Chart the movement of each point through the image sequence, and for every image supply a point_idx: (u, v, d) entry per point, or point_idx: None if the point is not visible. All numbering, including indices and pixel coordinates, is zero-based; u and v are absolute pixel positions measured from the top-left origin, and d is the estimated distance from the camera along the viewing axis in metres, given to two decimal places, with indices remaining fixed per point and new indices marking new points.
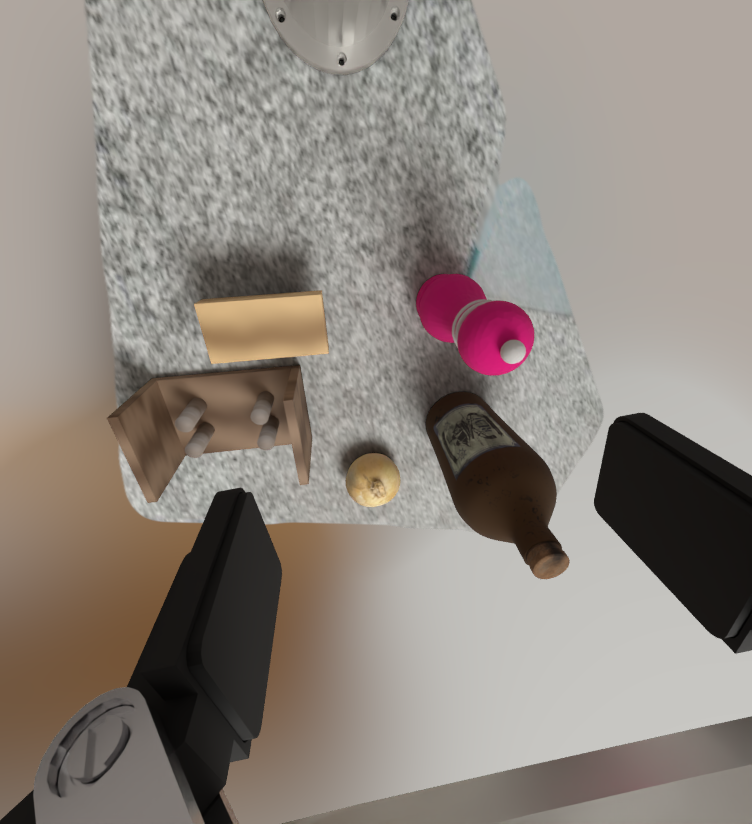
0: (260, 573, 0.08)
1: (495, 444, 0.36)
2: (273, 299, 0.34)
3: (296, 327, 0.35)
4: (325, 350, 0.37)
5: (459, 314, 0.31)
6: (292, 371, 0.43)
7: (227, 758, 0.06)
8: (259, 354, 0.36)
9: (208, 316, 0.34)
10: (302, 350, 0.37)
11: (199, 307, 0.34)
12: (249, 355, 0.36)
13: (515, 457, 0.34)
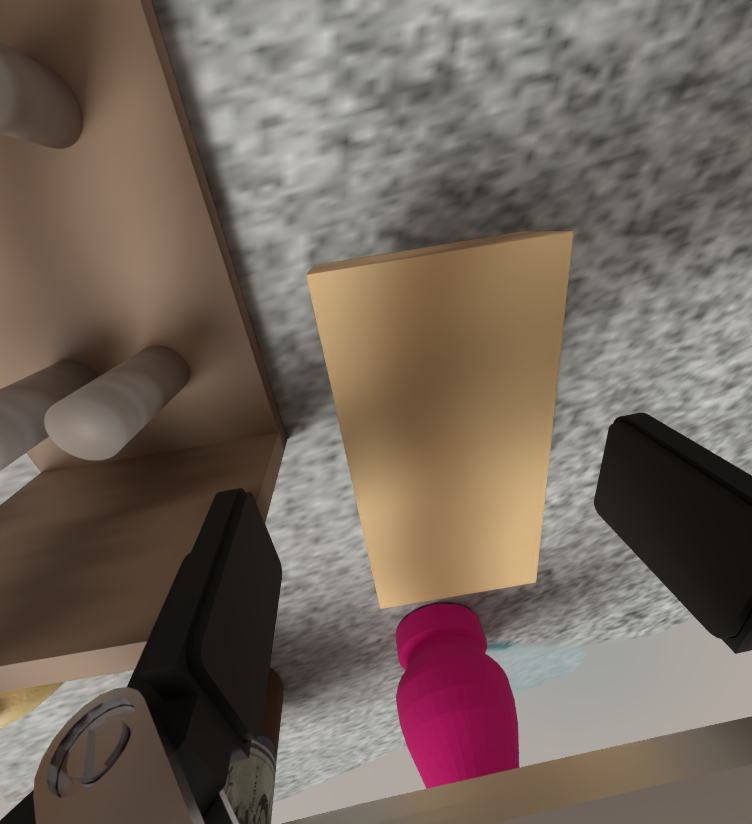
0: (260, 573, 0.08)
1: None
2: (542, 489, 0.11)
3: (457, 542, 0.12)
4: (388, 603, 0.13)
5: None
6: (276, 449, 0.15)
7: (227, 758, 0.06)
8: (367, 455, 0.10)
9: (516, 285, 0.08)
10: (386, 559, 0.12)
11: (556, 253, 0.08)
12: (359, 423, 0.10)
13: None
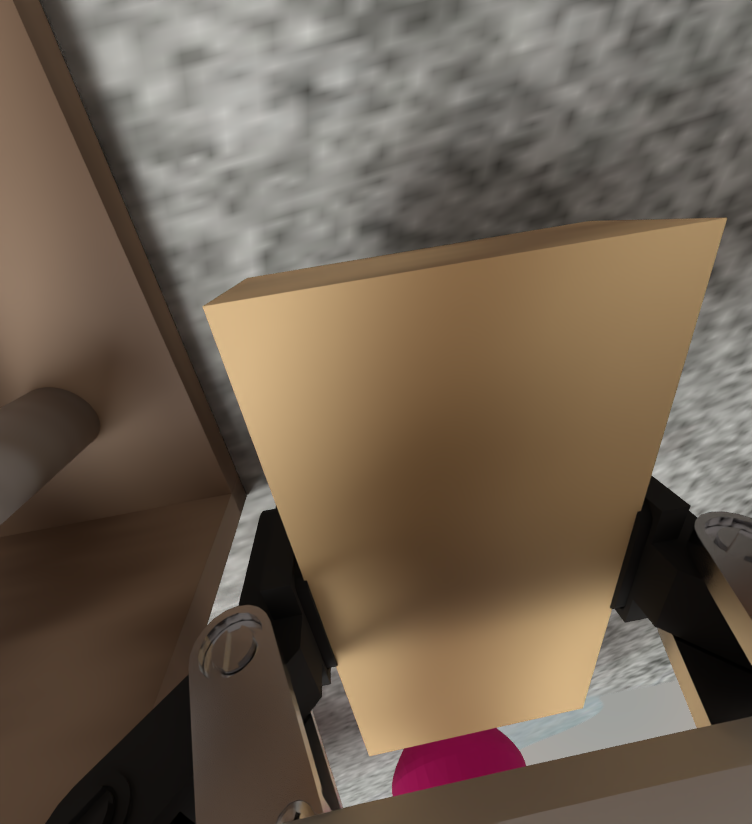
0: None
1: None
2: (606, 608, 0.08)
3: (479, 677, 0.08)
4: (381, 750, 0.09)
5: None
6: (226, 519, 0.11)
7: (320, 676, 0.07)
8: (343, 587, 0.06)
9: (608, 319, 0.04)
10: (376, 705, 0.08)
11: (688, 261, 0.04)
12: (327, 545, 0.06)
13: None
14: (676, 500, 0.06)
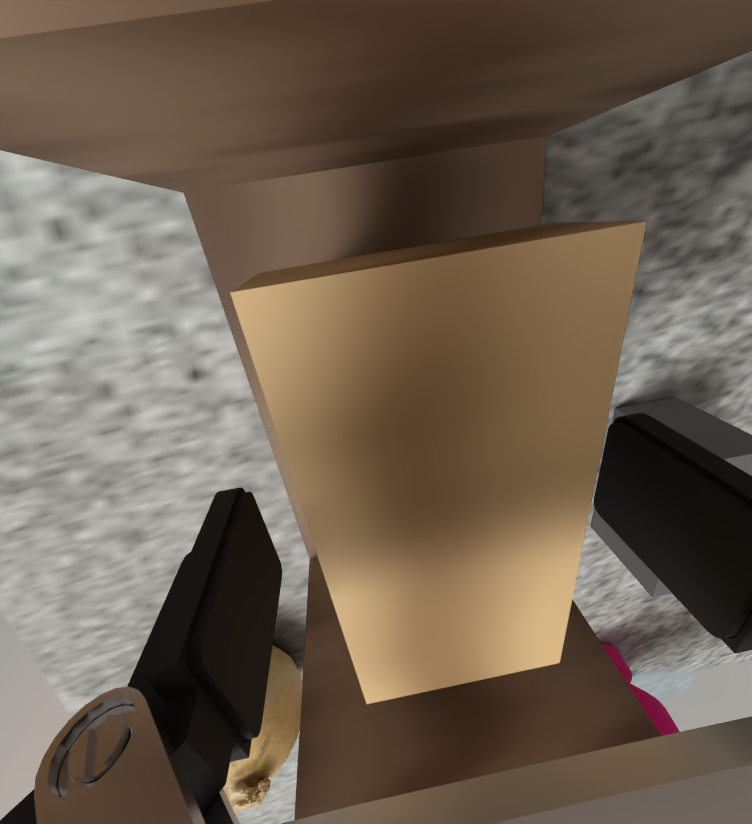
0: (260, 573, 0.08)
1: None
2: (574, 564, 0.09)
3: (463, 628, 0.09)
4: (377, 698, 0.10)
5: None
6: None
7: (228, 757, 0.06)
8: (341, 537, 0.07)
9: (555, 303, 0.05)
10: (372, 652, 0.09)
11: (618, 256, 0.05)
12: (328, 497, 0.07)
13: None
14: None
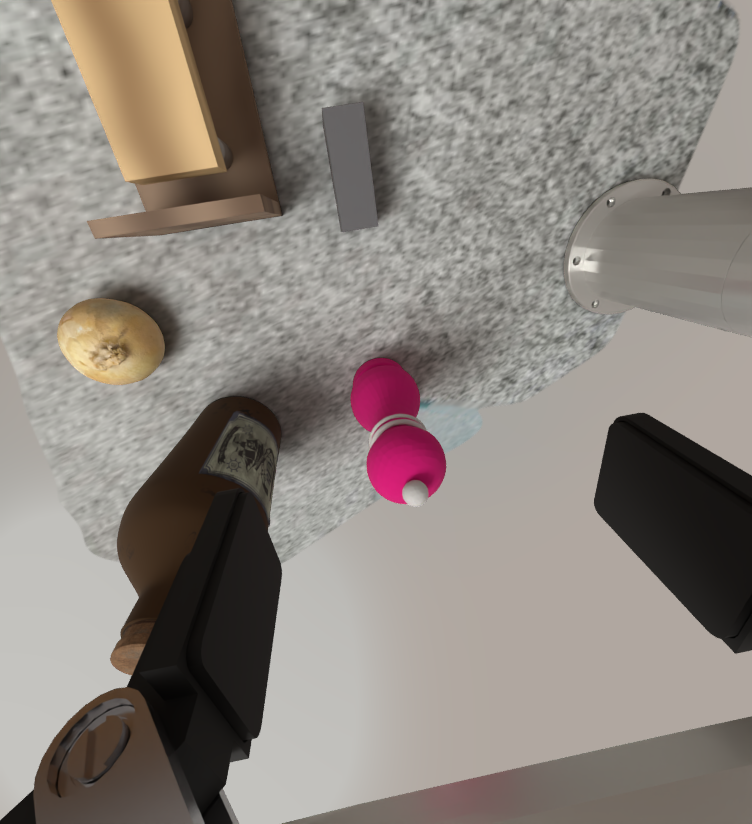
0: (260, 573, 0.08)
1: (263, 499, 0.29)
2: (187, 73, 0.21)
3: (152, 118, 0.22)
4: (128, 175, 0.23)
5: (412, 418, 0.29)
6: (277, 204, 0.30)
7: (227, 758, 0.06)
8: (75, 30, 0.20)
9: None
10: (114, 129, 0.22)
11: None
12: (63, 2, 0.19)
13: None
14: None
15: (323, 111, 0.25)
